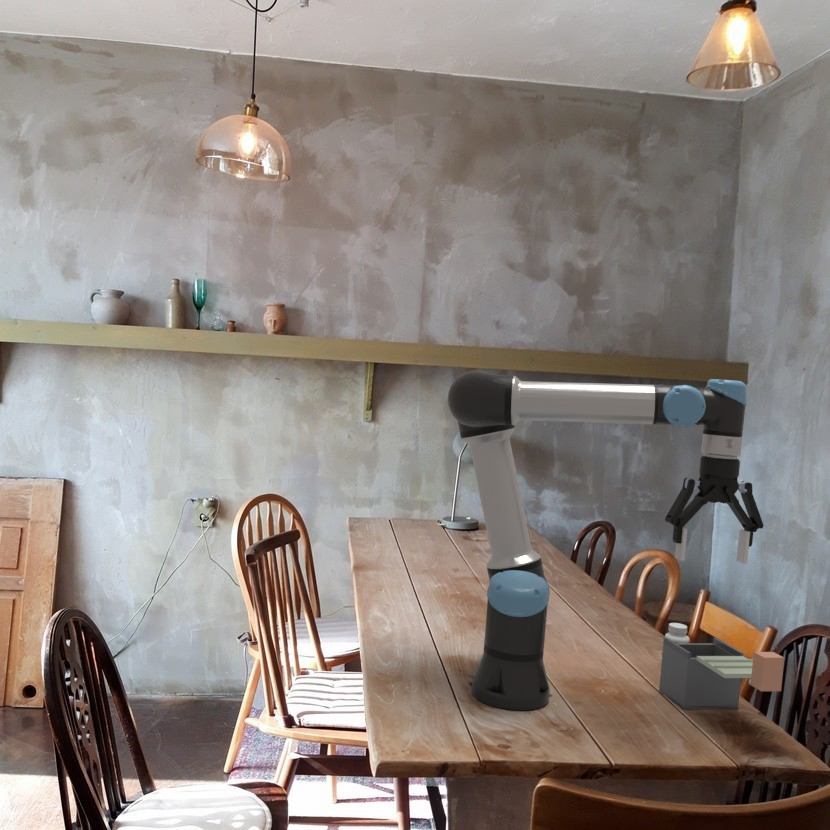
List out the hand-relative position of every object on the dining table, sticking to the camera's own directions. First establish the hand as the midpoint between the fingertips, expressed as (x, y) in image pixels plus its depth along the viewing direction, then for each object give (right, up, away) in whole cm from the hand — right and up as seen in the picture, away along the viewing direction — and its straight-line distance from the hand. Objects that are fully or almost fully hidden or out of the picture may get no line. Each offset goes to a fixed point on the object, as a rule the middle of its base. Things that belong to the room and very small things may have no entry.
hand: (710, 561), depth 167 cm
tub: (-3, -28, 0) cm, 28 cm away
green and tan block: (+1, -19, -14) cm, 23 cm away
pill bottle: (-1, -28, +19) cm, 33 cm away
